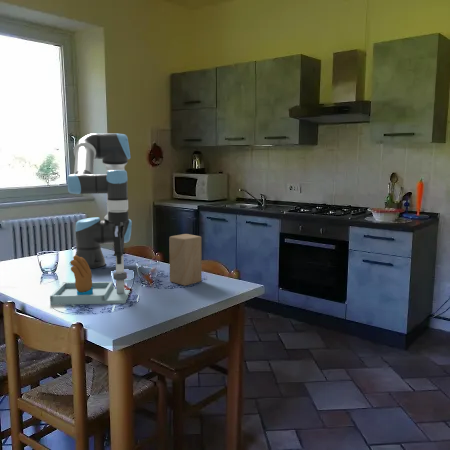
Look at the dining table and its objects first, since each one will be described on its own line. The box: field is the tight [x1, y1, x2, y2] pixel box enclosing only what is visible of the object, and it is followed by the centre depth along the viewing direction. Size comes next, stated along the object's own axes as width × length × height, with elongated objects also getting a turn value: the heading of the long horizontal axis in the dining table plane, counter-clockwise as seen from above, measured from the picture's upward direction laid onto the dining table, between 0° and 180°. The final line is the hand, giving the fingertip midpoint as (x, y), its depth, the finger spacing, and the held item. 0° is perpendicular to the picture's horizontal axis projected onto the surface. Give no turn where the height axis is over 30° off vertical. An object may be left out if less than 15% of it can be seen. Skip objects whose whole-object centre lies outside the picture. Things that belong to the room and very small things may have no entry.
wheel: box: [113, 271, 128, 281], centre depth 175 cm, size 5×5×2 cm
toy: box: [70, 255, 93, 295], centre depth 174 cm, size 12×7×15 cm, turn 169°
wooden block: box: [168, 233, 203, 286], centre depth 195 cm, size 10×10×20 cm
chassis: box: [49, 279, 131, 306], centre depth 175 cm, size 18×27×7 cm, turn 94°
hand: (119, 271), depth 175 cm, fingers closed
